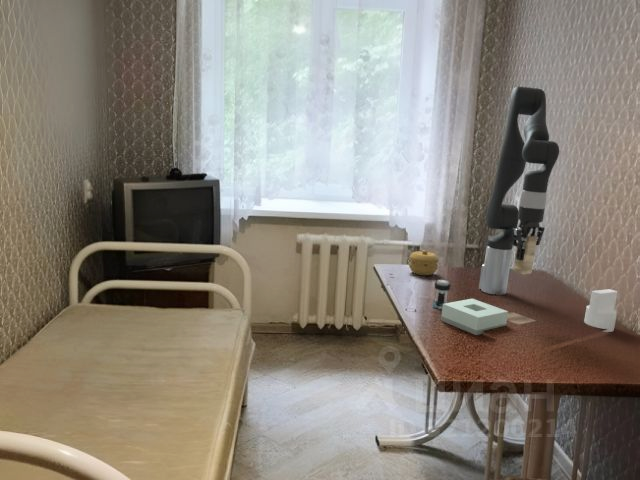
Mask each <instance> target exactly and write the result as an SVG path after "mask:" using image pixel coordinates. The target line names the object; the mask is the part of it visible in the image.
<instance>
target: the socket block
mask: <svg viewBox="0 0 640 480" xmlns="http://www.w3.org/2000/svg"><path fill="white" fill-rule="evenodd" d="M508 313H509V311H508V310H506V309H504V308H503V309H502V308H500V307H498V306H494V305H491V304H489V303H487V302H484V301H480V300H479V299H478V300H477V299H475V298H467V299H462V300H456V301H452V302H447V303H445V304H443V307H442V309H441V316H440V321H441V322H444V323H445V324H448V325H451V326H453V327H455V328H458V329H460V330H463V331H464V332H468V333H469V334H472V335H475V336H478V335H482V334H488V332H487V331H488V330H491V329H492V330H493V329H496V328H500V327H505V326H507V315H508Z"/></svg>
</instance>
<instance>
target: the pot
mask: <svg viewBox="0 0 640 480" xmlns="http://www.w3.org/2000/svg"><path fill="white" fill-rule="evenodd" d="M409 259H410V261H409V262H408V266H409V269H410V271H411V272H412V273H413V274H415V273H416V274H415V275H419V276H431V275H433V274H435V272H437V270H438V268H439V266H438V264H437V263H438V262H439V257H438V256H437V255H436V254H435V253H433V252H430V251H428V250H426V249H423V250H419V251H413V252H412V253H411V254H410V255H409Z"/></svg>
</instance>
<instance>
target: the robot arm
mask: <svg viewBox="0 0 640 480" xmlns="http://www.w3.org/2000/svg"><path fill="white" fill-rule="evenodd" d="M507 111H508V113H507V118H506V119H507V120H506V126H505V131H504V136H503V141H502V144H501V150H500V153H499V158H498V164H497V170H496V175H495V181H494V184H493V189H492V192H491V196H490V199H489V201H488V206H487V209H486V213H485V224H486V227H487V228H489V229H491V230H492V229H493V230H501V231H500V232H499V233H498V234H496V235H493V236H490V237H488V239H487V240H486V248H485V249H486V250H485V257H484V263H483V264H482V265H481V269H480V276H479V283H478V290H480V289H481V290H480V291H482V292H484V293H486V294H491V295H495V294H496V295H495V296H497V295H498V296H502V295H506V294H507V290H508V289H507V288H508V281H509V276H510V268H511V260H512V253H513V247H516V248H517V255H516V254H515V255H516V259H517V260H523V259H524V252H525V246H526V242H528V237H530V236H537V241H536V246H539V245H540V244H541V241H542V238H543V235H544V232H545V227H543V226H540V223H542V222H543V221H544V216H545V211H546V210H545V209H546V203H547V192H548V185H549V179H550V176H551V174H552V171H553V168H554V166H555V164H556V162H557V160H558V158H559V155H560V146H559V145H558V143H557V142H556V141H552V140H550V135H549V130H548V126H547V97H546V92H545V90H544V89H541V88H536V87H528V86H519V85H518V86H516V87H514V88H513V89H512V91H511V95H510V99H509V106H508V110H507ZM519 115H520V116H522V115H523V116H529V118H528V119H527V120H526V121H525V123H524V125H523V134H524V138H525V139H523V136H522V134H521V131H520V128H519ZM527 163H528V164H537V165H542V167H541V168H540V169H538V170H530V171H527V172H525V168H526V164H527ZM524 172H525V174H524ZM523 174H524V177H523V184H522V192H521V195H520V199H519V205H518V207H517V206H516V205H514V204H507V203H505V204H503V202H504V199H505V197H506V195H507V193H508V192H509V190H510V189H511V188H512V187H513V186H514V185H515V184H516V183H517V181H519V180H520V178H521V177H522V175H523ZM521 236H522V237H525V239H523V238H522V237H521ZM522 241H523V244H522Z"/></svg>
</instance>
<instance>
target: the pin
mask: <svg viewBox="0 0 640 480" xmlns="http://www.w3.org/2000/svg"><path fill="white" fill-rule="evenodd" d="M521 237H522V236H521ZM522 238H523V239H525V237H522ZM537 239H538V237H537V236H530V237H528V242H526V246H525V252H524V259H523V260H517V259H516V255H517V247H516V250H515V256H514V263H513V270H512V271H513V272H515V273H517V274H521V275H530V274H532V271H533V266H534V259H535V252H536V246H537V245H536V241H537ZM522 244H523V241H522Z"/></svg>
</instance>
